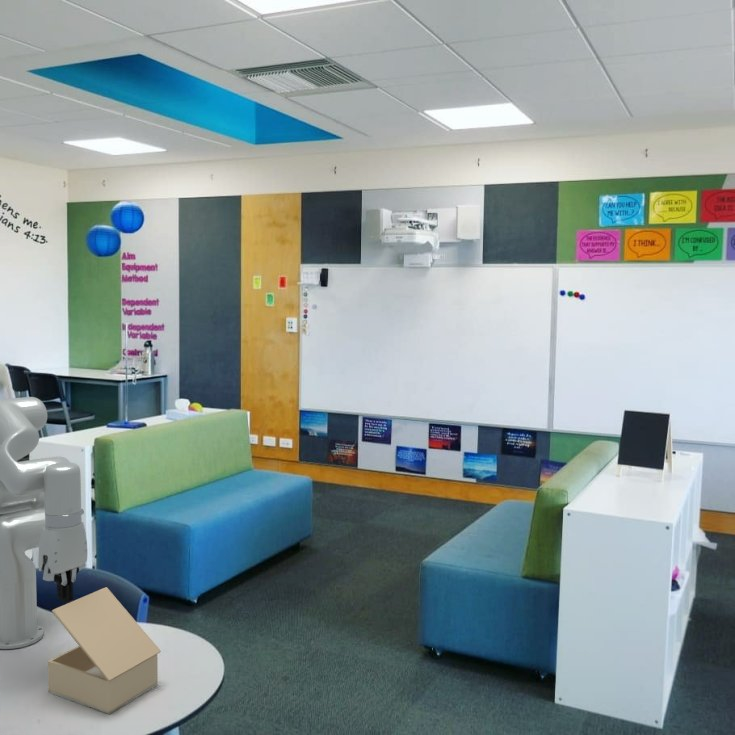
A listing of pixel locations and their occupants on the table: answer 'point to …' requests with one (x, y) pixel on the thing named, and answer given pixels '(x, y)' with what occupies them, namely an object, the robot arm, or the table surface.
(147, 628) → the table surface
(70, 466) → the robot arm
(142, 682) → the box
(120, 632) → the lid
